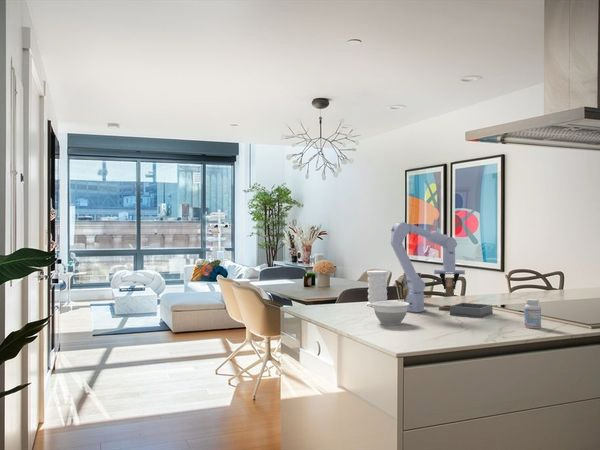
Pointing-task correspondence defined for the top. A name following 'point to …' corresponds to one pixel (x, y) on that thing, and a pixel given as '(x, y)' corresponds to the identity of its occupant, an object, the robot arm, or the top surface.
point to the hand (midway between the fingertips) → (449, 288)
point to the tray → (471, 310)
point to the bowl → (390, 311)
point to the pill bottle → (532, 314)
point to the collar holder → (445, 307)
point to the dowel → (449, 285)
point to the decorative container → (377, 286)
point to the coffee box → (406, 289)
